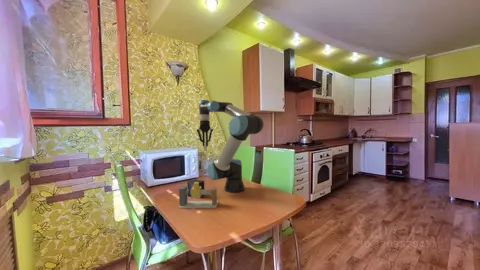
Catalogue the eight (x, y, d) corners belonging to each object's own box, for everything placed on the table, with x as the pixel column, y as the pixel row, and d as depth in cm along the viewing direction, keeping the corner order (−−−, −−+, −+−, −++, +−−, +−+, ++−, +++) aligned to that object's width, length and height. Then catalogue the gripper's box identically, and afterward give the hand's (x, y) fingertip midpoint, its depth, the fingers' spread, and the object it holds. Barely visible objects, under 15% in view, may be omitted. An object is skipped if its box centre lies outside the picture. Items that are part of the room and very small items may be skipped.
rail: (218, 202, 128) (217, 184, 128) (216, 207, 119) (215, 189, 119) (183, 202, 129) (182, 185, 128) (178, 208, 120) (178, 189, 119)
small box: (187, 196, 141) (186, 181, 140) (193, 193, 146) (192, 179, 146) (199, 198, 136) (198, 183, 135) (205, 195, 141) (204, 180, 141)
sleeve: (201, 195, 126) (201, 181, 126) (199, 198, 121) (199, 183, 121) (193, 195, 126) (193, 181, 126) (191, 198, 121) (190, 183, 121)
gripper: (213, 120, 160) (214, 149, 161) (197, 120, 161) (198, 150, 162) (212, 119, 153) (213, 151, 154) (195, 120, 153) (196, 151, 154)
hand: (205, 150), depth 158 cm, fingers closed
